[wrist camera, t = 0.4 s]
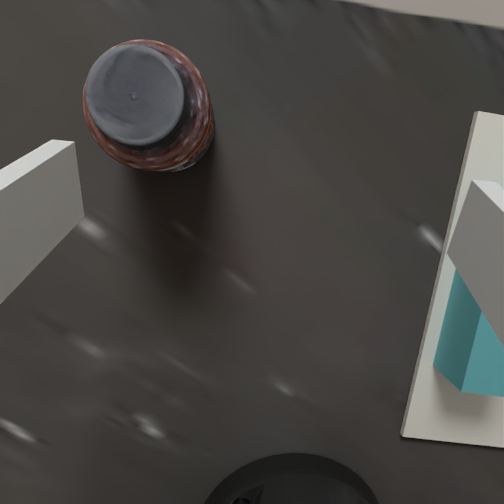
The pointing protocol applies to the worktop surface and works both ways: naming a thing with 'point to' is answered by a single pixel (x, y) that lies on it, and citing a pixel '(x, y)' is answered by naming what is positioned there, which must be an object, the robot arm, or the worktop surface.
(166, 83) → the supplement bottle
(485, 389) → the t block
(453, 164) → the worktop surface
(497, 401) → the board
